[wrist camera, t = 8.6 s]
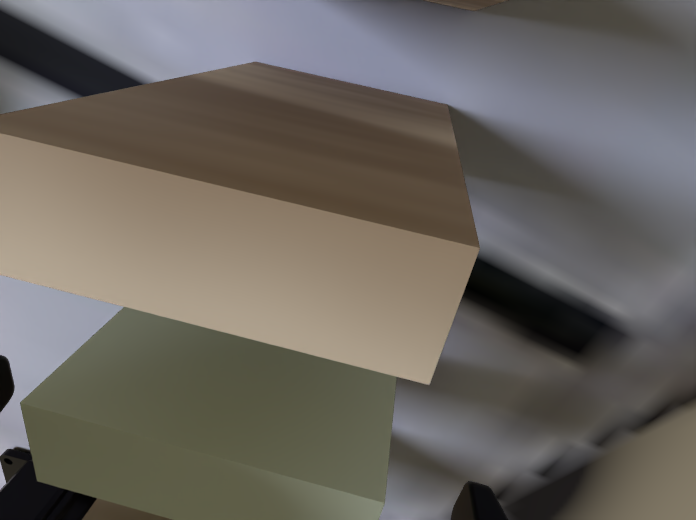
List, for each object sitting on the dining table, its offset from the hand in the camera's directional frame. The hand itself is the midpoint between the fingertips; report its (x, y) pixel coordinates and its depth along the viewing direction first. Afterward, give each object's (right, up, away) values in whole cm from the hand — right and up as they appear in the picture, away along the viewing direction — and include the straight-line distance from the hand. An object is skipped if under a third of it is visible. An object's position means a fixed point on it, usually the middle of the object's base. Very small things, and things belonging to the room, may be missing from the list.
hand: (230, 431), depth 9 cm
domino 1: (+2, +8, +6) cm, 10 cm away
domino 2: (+1, +4, +8) cm, 9 cm away
